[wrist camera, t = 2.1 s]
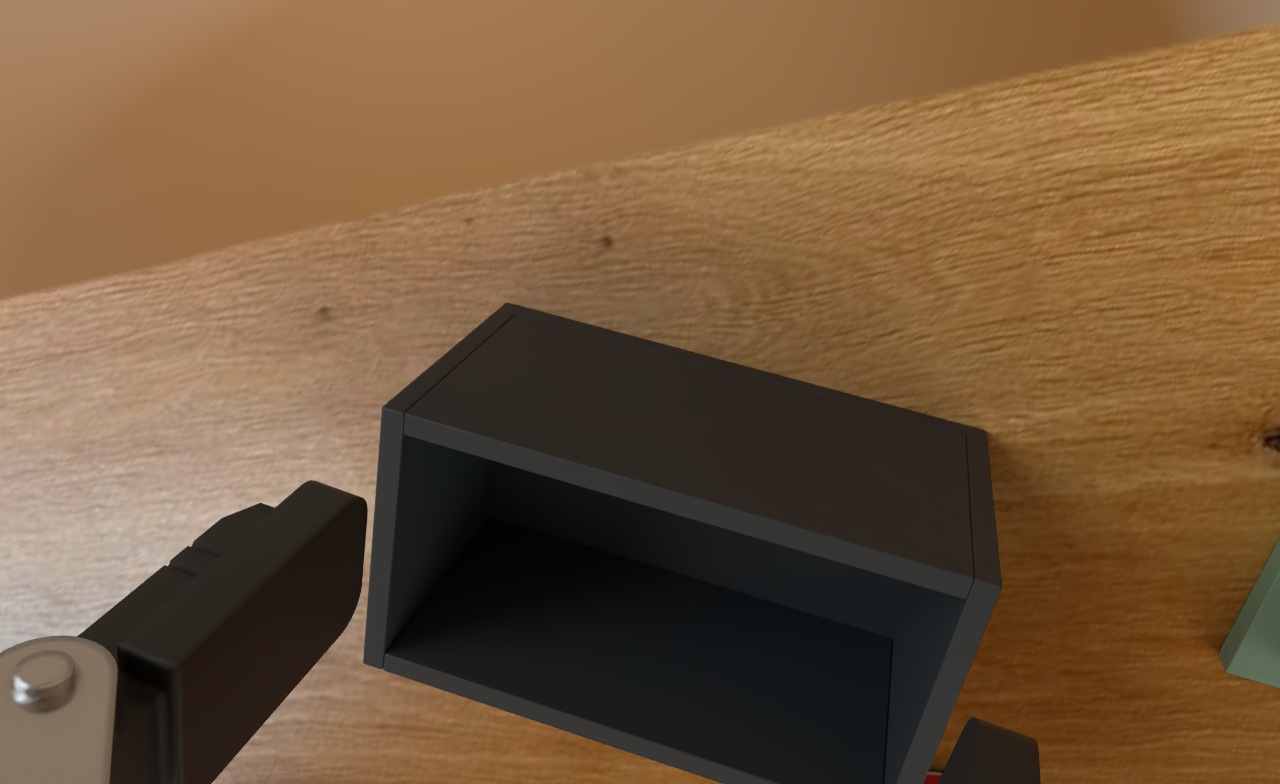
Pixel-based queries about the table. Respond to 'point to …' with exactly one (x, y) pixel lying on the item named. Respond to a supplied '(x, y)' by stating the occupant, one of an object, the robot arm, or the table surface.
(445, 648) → the waste bin
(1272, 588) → the shelf stand
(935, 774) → the beverage can
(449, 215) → the table surface
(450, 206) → the table surface
